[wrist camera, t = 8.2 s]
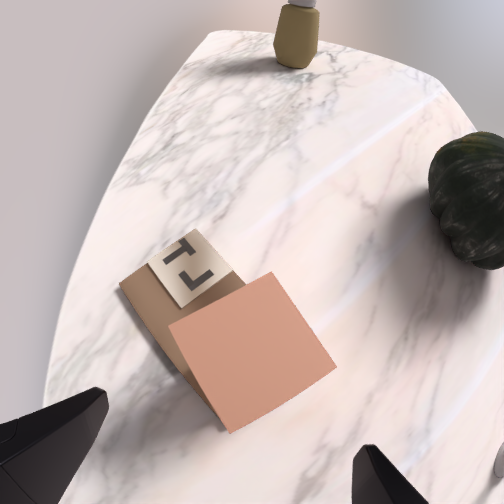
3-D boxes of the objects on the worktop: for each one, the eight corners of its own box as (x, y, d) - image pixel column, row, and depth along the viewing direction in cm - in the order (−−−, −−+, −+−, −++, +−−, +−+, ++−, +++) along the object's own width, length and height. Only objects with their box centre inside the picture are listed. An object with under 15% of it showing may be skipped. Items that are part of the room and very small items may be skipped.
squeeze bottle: (278, 53, 47) (288, -24, 31) (317, 62, 46) (332, -16, 30) (265, 64, 43) (273, -24, 27) (308, 75, 42) (325, -16, 26)
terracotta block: (232, 415, 17) (230, 433, 8) (199, 361, 19) (168, 325, 10) (288, 383, 18) (337, 366, 9) (254, 330, 20) (271, 271, 11)
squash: (472, 143, 28) (488, 80, 16) (535, 228, 23) (585, 202, 10) (406, 200, 34) (398, 157, 21) (467, 293, 28) (499, 302, 16)
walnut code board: (229, 428, 17) (229, 429, 16) (121, 286, 22) (117, 282, 21) (311, 357, 20) (314, 355, 19) (196, 233, 25) (195, 228, 24)
